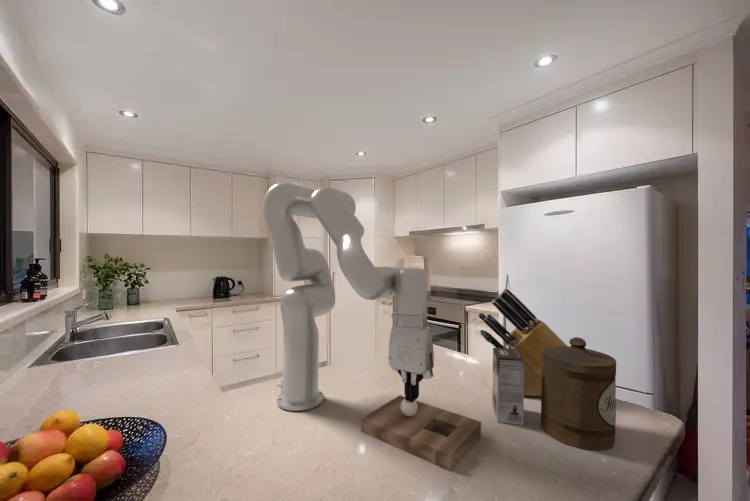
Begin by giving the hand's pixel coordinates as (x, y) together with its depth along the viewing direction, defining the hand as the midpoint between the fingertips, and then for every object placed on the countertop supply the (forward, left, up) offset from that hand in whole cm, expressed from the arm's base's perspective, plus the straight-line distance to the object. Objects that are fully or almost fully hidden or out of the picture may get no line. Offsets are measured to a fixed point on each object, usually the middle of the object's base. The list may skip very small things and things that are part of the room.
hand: (411, 399), depth 78 cm
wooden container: (+31, +23, -7) cm, 39 cm away
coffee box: (+16, +21, -7) cm, 27 cm away
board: (+3, 0, -7) cm, 7 cm away
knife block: (+19, +43, -7) cm, 48 cm away
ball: (-1, 0, -2) cm, 2 cm away
